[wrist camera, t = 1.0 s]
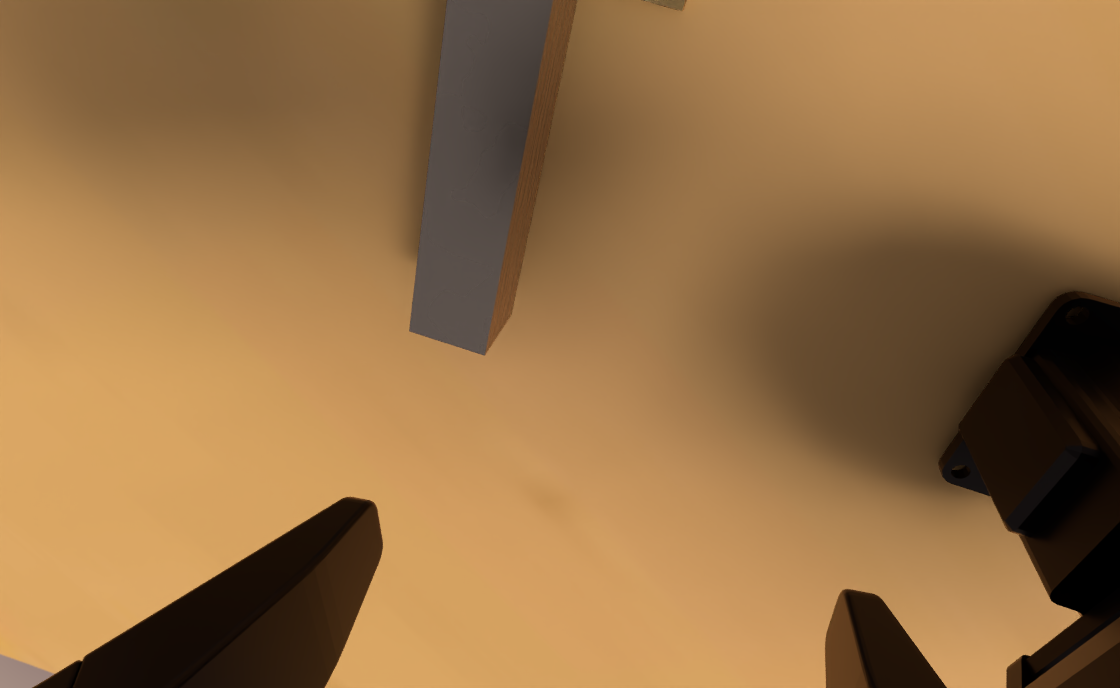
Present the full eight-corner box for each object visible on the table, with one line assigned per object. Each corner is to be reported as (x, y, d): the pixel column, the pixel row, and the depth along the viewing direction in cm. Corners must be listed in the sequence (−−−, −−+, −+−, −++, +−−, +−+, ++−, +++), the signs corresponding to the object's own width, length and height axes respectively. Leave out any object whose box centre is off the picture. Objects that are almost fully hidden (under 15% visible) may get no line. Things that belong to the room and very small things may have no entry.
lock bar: (491, -336, 13) (439, -400, 11) (687, -291, 13) (676, -346, 10) (418, 281, 20) (379, 321, 18) (541, 320, 20) (516, 365, 18)
